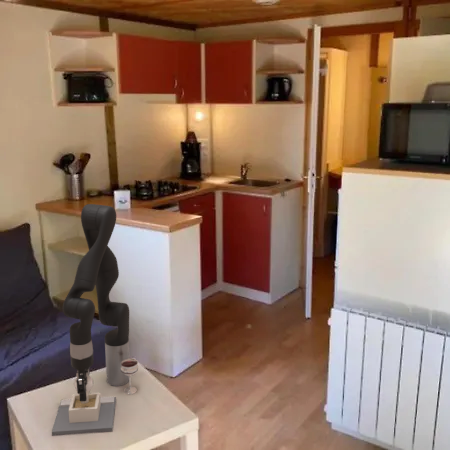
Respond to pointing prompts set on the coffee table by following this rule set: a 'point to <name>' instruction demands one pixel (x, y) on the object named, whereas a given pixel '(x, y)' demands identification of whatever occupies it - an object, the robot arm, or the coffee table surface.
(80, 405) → the socket plunger
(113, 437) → the coffee table surface
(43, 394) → the coffee table surface
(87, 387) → the lightbulb
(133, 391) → the wineglass
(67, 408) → the socket board
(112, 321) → the robot arm
